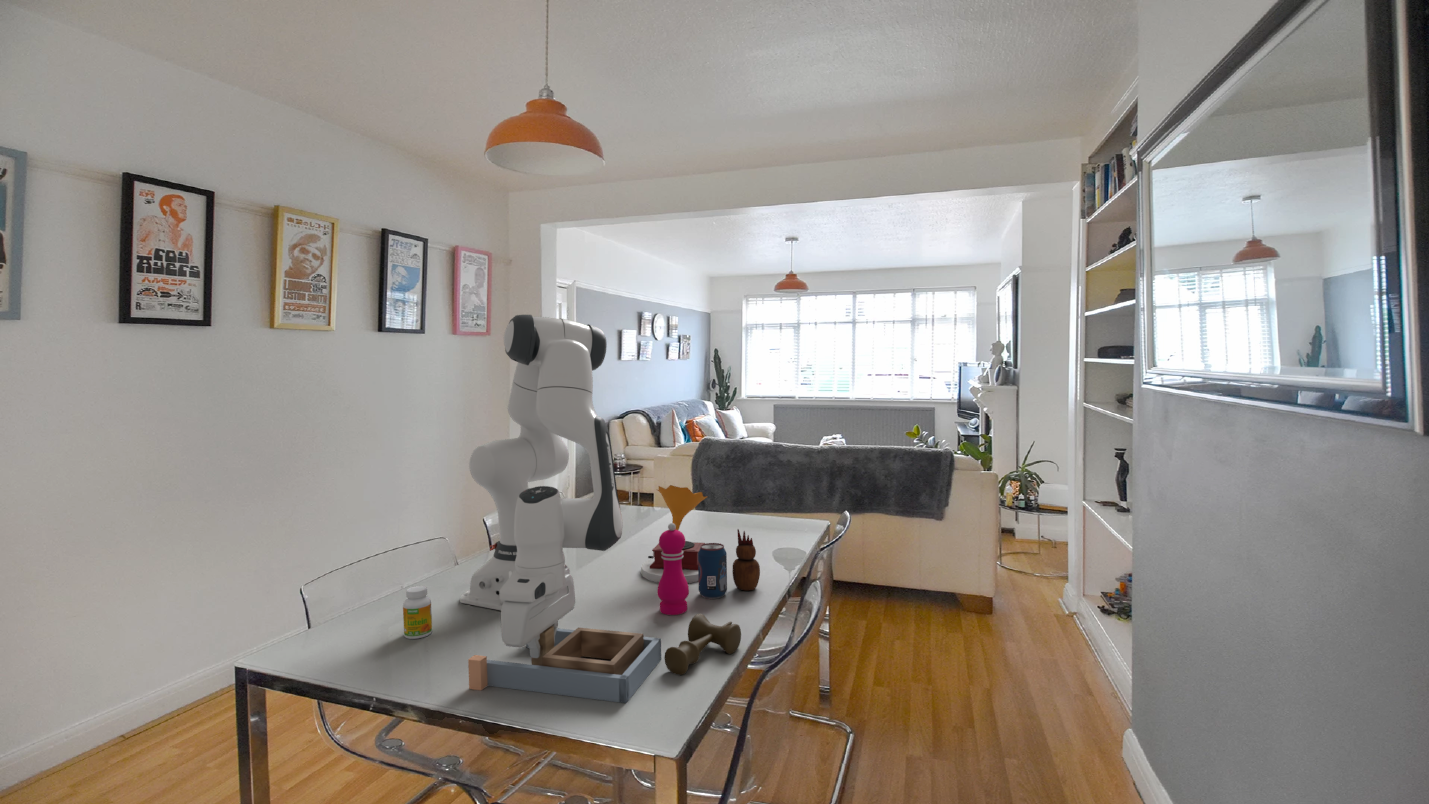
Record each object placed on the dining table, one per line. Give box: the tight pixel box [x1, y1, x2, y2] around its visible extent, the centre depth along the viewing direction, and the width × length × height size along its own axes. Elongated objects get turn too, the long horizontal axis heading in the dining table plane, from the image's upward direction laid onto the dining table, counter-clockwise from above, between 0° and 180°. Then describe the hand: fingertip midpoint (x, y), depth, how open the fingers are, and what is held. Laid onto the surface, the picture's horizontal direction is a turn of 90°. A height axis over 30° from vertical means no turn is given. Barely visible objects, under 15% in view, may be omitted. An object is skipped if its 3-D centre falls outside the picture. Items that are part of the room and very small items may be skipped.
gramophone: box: [640, 484, 709, 584], centre depth 176 cm, size 20×20×25 cm
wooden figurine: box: [732, 528, 761, 592], centre depth 161 cm, size 7×6×15 cm
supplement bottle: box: [402, 585, 433, 640], centre depth 136 cm, size 5×5×10 cm
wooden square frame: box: [530, 626, 645, 675], centre depth 117 cm, size 19×13×7 cm
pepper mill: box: [656, 522, 690, 616], centre depth 147 cm, size 7×7×20 cm
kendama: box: [663, 613, 742, 676], centre depth 124 cm, size 6×10×20 cm
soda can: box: [697, 542, 728, 600], centre depth 157 cm, size 7×7×12 cm
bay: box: [467, 627, 662, 704], centre depth 118 cm, size 28×20×5 cm
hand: (542, 651), depth 119 cm, fingers closed on wooden square frame, 3 cm apart
